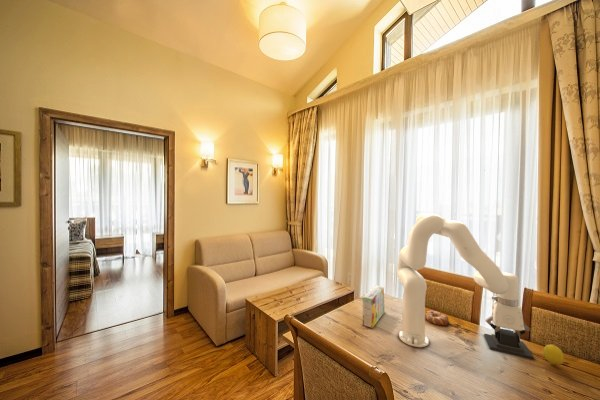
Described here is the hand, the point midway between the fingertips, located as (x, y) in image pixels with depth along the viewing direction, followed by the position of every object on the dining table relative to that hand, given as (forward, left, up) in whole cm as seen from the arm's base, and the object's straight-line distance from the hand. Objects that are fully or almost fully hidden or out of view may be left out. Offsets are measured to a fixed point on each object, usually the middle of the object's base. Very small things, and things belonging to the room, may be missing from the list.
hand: (507, 341), depth 104 cm
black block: (0, 0, 0) cm, 0 cm away
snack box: (-3, +57, -3) cm, 57 cm away
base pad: (0, 0, -2) cm, 2 cm away
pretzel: (+11, +27, -3) cm, 29 cm away
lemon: (-7, -13, -3) cm, 14 cm away
